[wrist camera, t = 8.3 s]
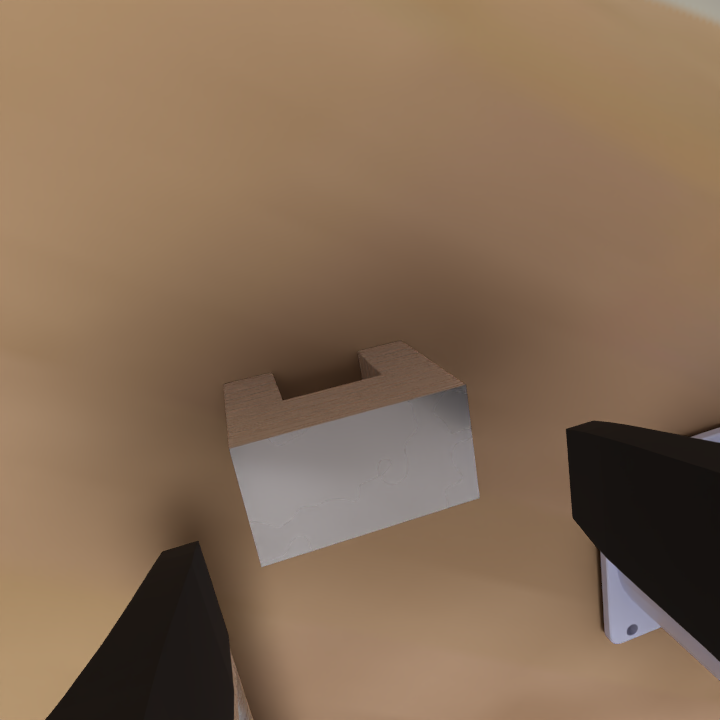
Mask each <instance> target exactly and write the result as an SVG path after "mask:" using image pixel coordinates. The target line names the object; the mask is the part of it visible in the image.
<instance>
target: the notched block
mask: <svg viewBox="0 0 720 720" xmlns="http://www.w3.org/2000/svg"><path fill="white" fill-rule="evenodd" d="M357 353H358V358H359V364H360V369H361V375H362V380H360V381H356V382H352V383H348V384H344V385H341V386H337V387H333V388H329V389H325V390H321V391H317V392H313V393H309V394H306V395H302V396H298V397H294V398H290V399H286V400H282V397H281V395H280V392H279V389H278V387H277V384H276V382H275V379H274V377H273V374H272V372H271V373H267V374H263V375H259V376H255V377H251V378H247V379H242V380H238V381H234V382H230V383H226V384H224V396H225V408H226V419H227V431H228V443H229V450H230V454H231V458H232V461H233V465H234V469H235V472H236V476H237V480H238V483H239V487H240V491H241V494H242V498H243V501H244V505H245V509H246V512H247V516H248V520H249V523H250V527H251V531H252V534H253V538H254V541H255V545H256V549H257V552H258V556H259V560H260V563H261V567H264V566H267V565H270V564H273V563H276V562H279V561H283V560H286V559H289V558H292V557H295V556H298V555H301V554H305V553H308V552H311V551H314V550H317V549H320V548H324V547H327V546H330V545H333V544H336V543H339V542H342V541H346V540H349V539H352V538H355V537H358V536H361V535H364V534H368V533H371V532H374V531H377V530H380V529H383V528H387V527H390V526H393V525H396V524H399V523H402V522H405V521H409V520H412V519H415V518H418V517H421V516H424V515H428V514H431V513H434V512H437V511H440V510H443V509H446V508H450V507H453V506H456V505H459V504H462V503H465V502H469V501H472V500H475V499H478V498H480V497H479V489H478V480H477V472H476V464H475V455H474V447H473V439H472V430H471V422H470V414H469V406H468V397H467V389H466V384H464V383H463V382H461V381H460V380H458V379H457V378H455V377H454V376H453V375H451V374H450V373H448V372H447V371H445V370H444V369H442V368H441V367H439V366H438V365H436V364H435V363H433V362H432V361H430V360H429V359H428V358H426V357H425V356H423V355H422V354H420V353H419V352H417V351H416V350H414V349H413V348H411V347H410V346H408V345H407V344H406V343H404V342H403V341H397V342H393V343H389V344H385V345H380V346H376V347H372V348H368V349H364V350H360V351H357Z"/></svg>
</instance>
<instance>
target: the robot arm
mask: <svg viewBox="0 0 720 720" xmlns="http://www.w3.org/2000/svg"><path fill="white" fill-rule="evenodd" d="M566 435H567V448H568V462H569V475H570V489H571V503H572V516H573V519H574V520H575V521H576V522H577V524H578V525H579V526H580V527H581V529H582V530H583V531H584V532H585V534H586V535H587V536H588V537H589V539H590V540H591V541H592V542H593V543H594V544H595V545H596V547H597V548H598V549H599V550H600V554H601V573H602V592H603V611H604V630H605V635H606V636H607V638H608V639H609V640H610V641H611V642H612V643H614V644H620V643H623V642H626V641H628V640H631V639H633V638H636V637H638V636H640V635H643V634H645V633H648V632H650V631H653V630H655V629H658V628H660V627H662V628H663V629H664V630H665V631H666V632H667V633H668V634H669V635H671V636H672V637H673V638H674V639H675V640H676V641H677V642H678V643H679V644H680V645H681V646H682V647H684V648H685V649H686V650H687V651H688V652H689V653H690V654H691V655H692V656H693V657H694V658H696V659H697V660H698V661H699V662H700V663H701V664H702V665H703V666H704V667H705V668H706V669H707V670H709V671H710V672H711V673H712V674H713V675H714V676H715V677H716V678H717V679H718V680H719V681H720V427H719V428H716V429H713V430H710V431H707V432H704V433H701V434H698V435H695V436H692V437H687V436H682V435H677V434H672V433H667V432H662V431H657V430H651V429H646V428H641V427H636V426H630V425H624V424H618V423H611V422H602V421H591V422H587V423H584V424H581V425H578V426H574V427H571V428H568V429H566ZM45 720H234V685H233V674H232V663H231V654H230V645H229V635H228V632H227V629H226V626H225V622H224V619H223V616H222V613H221V610H220V607H219V604H218V601H217V597H216V594H215V591H214V588H213V585H212V582H211V579H210V576H209V573H208V569H207V566H206V563H205V560H204V557H203V554H202V551H201V548H200V545H199V541H196V542H193V543H189V544H186V545H183V546H179V547H176V548H173V549H170V550H166V551H163V552H162V553H161V555H160V556H159V558H158V559H157V561H156V562H155V564H154V565H153V567H152V568H151V570H150V571H149V573H148V574H147V576H146V578H145V579H144V581H143V582H142V584H141V586H140V587H139V589H138V590H137V592H136V593H135V595H134V597H133V598H132V600H131V601H130V603H129V604H128V606H127V607H126V609H125V611H124V612H123V614H122V615H121V617H120V618H119V620H118V621H117V623H116V624H115V626H114V627H113V629H112V630H111V632H110V633H109V635H108V636H107V638H106V639H105V641H104V642H103V644H102V645H101V646H100V648H99V649H98V650H97V652H96V653H95V655H94V656H93V657H92V659H91V660H90V661H89V663H88V664H87V665H86V667H85V668H84V670H83V671H82V672H81V674H80V675H79V676H78V678H77V679H76V680H75V682H74V683H73V685H72V686H71V687H70V689H69V690H68V691H67V693H66V694H65V696H64V697H63V698H62V699H61V701H60V702H59V703H58V705H57V706H56V707H55V708H54V710H53V711H52V712H51V713H50V715H49V716H48V717H47V718H46V719H45Z"/></svg>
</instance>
